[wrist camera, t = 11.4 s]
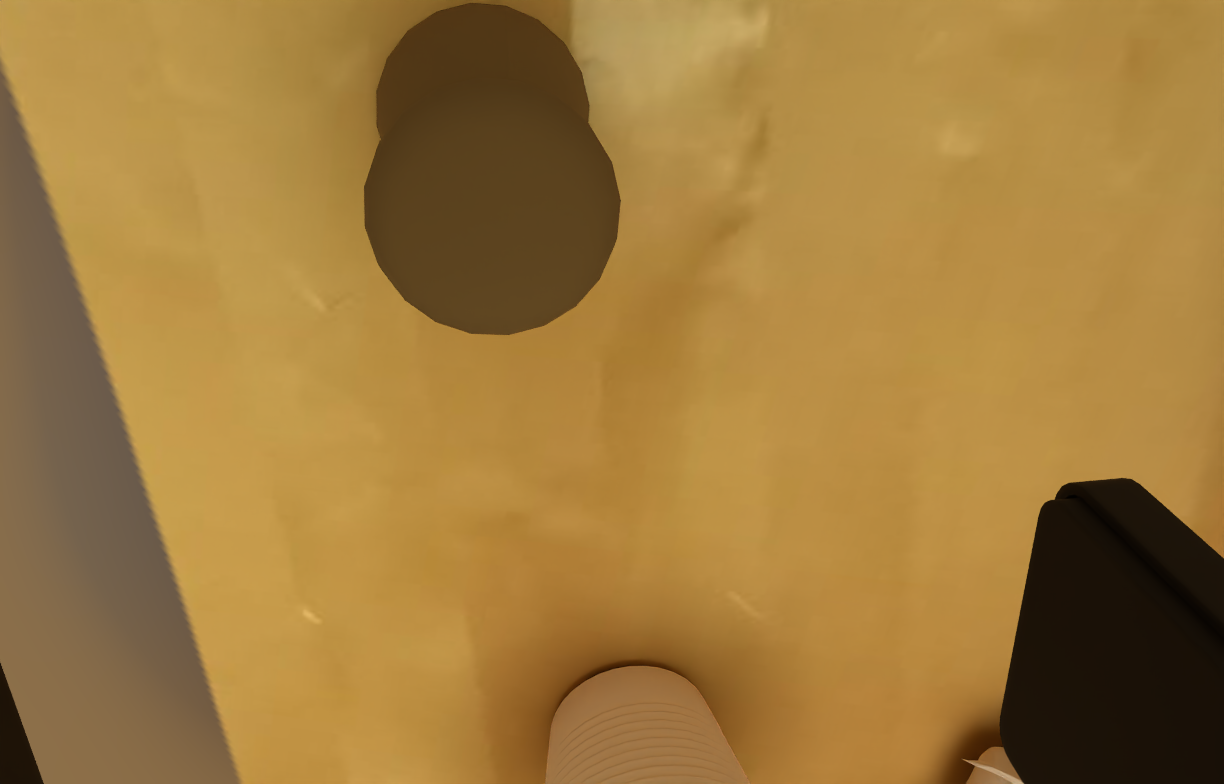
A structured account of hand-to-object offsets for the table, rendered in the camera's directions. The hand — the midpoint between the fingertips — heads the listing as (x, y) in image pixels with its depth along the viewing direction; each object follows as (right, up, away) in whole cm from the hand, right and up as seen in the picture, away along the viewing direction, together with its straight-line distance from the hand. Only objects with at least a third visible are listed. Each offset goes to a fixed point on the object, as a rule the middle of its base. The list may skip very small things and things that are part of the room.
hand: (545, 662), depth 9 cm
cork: (-3, +10, +20) cm, 23 cm away
